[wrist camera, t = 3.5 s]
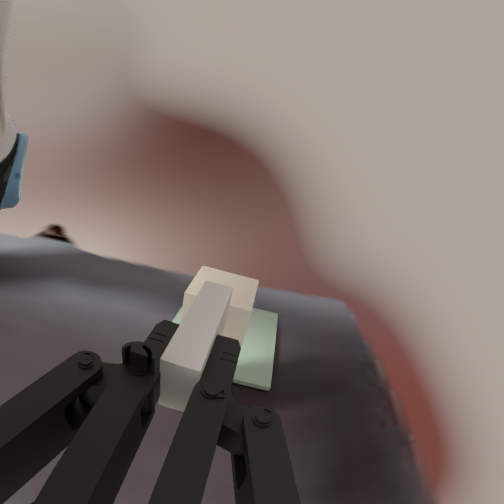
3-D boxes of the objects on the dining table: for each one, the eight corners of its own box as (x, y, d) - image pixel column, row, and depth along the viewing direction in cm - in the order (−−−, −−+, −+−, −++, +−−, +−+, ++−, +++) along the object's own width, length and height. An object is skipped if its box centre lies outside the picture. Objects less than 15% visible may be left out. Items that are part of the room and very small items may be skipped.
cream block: (172, 407, 27) (184, 292, 21) (185, 375, 31) (202, 265, 26) (220, 421, 26) (251, 311, 21) (229, 388, 31) (258, 280, 26)
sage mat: (152, 357, 32) (152, 354, 32) (191, 293, 47) (191, 290, 47) (269, 391, 32) (270, 387, 32) (277, 316, 47) (278, 313, 46)
